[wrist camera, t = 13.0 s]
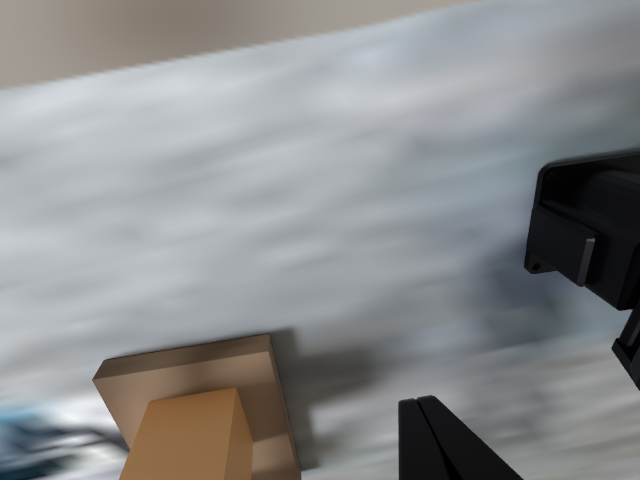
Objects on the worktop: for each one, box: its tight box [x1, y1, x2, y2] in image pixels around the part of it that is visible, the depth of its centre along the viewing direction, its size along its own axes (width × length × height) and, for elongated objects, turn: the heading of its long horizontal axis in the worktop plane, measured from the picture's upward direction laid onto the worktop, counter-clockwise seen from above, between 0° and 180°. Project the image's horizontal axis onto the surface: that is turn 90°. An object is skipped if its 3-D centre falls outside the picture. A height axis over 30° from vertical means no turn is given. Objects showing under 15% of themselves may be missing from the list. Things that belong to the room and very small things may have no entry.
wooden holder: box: [92, 334, 301, 480], centre depth 22 cm, size 10×14×8 cm
